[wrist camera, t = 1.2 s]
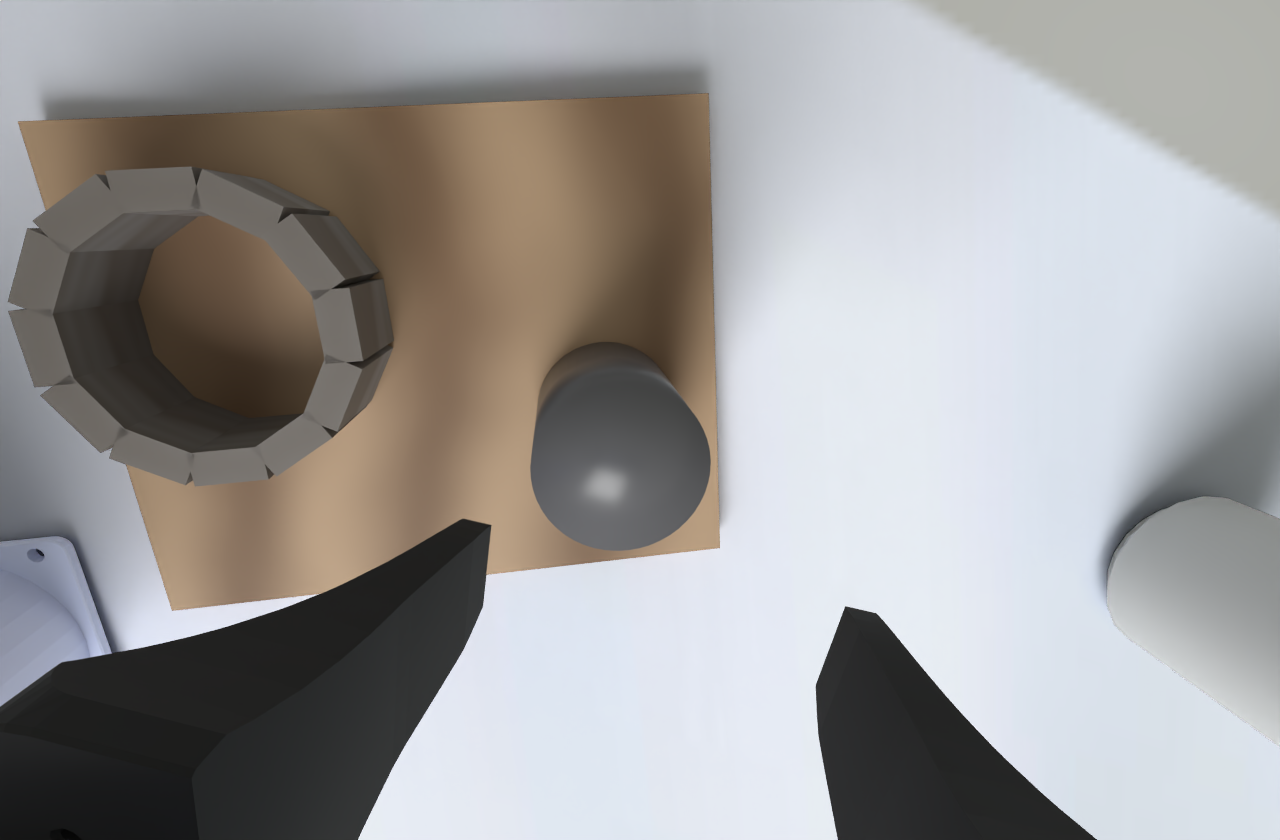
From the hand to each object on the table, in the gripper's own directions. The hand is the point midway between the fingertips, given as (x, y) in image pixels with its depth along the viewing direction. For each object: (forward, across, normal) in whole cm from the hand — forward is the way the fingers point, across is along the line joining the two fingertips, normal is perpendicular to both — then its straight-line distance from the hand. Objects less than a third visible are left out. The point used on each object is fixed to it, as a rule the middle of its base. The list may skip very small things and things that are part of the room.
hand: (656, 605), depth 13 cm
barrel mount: (+10, +9, 0) cm, 14 cm away
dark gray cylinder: (+10, +3, 0) cm, 11 cm away
